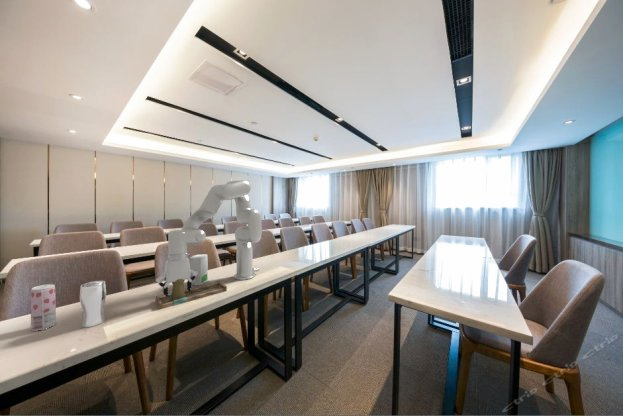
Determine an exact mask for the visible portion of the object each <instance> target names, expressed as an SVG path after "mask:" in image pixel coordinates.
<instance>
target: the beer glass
mask: <svg viewBox="0 0 623 416" xmlns="http://www.w3.org/2000/svg"><path fill="white" fill-rule="evenodd" d="M106 288H107V285H106V281H105V280H95V281H89V282H86V283H84V284H81V285H80V292H79V303H80V307H81V310H82V311H81V312H82V314H83V315H82V317H83V318H82V324H81V327H82V328H91V327H95V326H98V325H101V324H102V323H104V322H105V320H106V319H105V316H104V307H105V302H106V298H107V289H106Z"/></svg>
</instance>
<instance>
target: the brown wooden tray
mask: <svg viewBox="0 0 623 416" xmlns="http://www.w3.org/2000/svg"><path fill="white" fill-rule="evenodd" d="M216 287H217V288H218V289H214V288H216ZM209 289H210V290H211V289H214V290H211V291H207V292H204V293H199V294H195V295H191V296H188V297H186V295H190V294H192V293H193V294H194V293H197V292H201V291H206V290H209ZM184 291H185V298H181V299H177V300H174V301H172V302H171V301H169V302H165V303H163V301H165V300H169V299H170V300H171V296H172V292H171V293H168V296H167V297H166V296H165V295H163V296H159V295H155V300H154V301H155V303H156V305H157V308H158V309H159V310H163V309H166V308H170V307H172V306H177V305H178V306H179V305H181V304H184V303H187V302H191V301H195V300H199V299H203V298H206V297H209V296H213V295H217V294H221V293H224V292H227V285H225V284H224V283H222V282H221V281H220V280H219V281H217V282H216V283H212V284H207V285H204V286H201V287H195V288H190V291H188V290H187V289H186V290H184Z"/></svg>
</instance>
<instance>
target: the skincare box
mask: <svg viewBox="0 0 623 416" xmlns="http://www.w3.org/2000/svg"><path fill="white" fill-rule="evenodd" d="M189 263H190V269H191V270H194V271H197V272H198V274H197V275H196V277H195V279H194V280H193V281H192V286H202V285H203V284H204V283H206V282H208V280H209V278H208V275H209V273H208V270H209V269H208V264H209V263H208V254H206V253H205V254H195V255H192V256H190V257H189ZM193 274H194V273H191V276H190V278H191V277H192V276H193Z"/></svg>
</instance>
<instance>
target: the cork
mask: <svg viewBox="0 0 623 416" xmlns="http://www.w3.org/2000/svg"><path fill="white" fill-rule="evenodd" d="M184 282H185V280H183V279H178V280H176V281H175V282H171V284H172V289H171V293H172V296H171V299H170V302H172V301H174V300H177V299H181V298H185V297H186V295H185V291H186V290H185V286H184Z"/></svg>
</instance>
